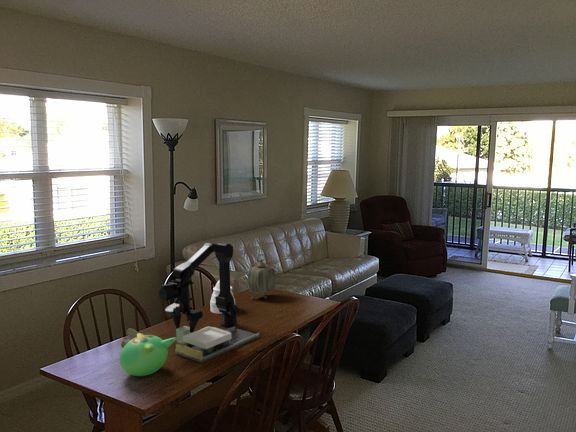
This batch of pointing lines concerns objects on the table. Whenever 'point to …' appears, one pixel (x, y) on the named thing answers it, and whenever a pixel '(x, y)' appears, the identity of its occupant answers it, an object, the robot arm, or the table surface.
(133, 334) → the grey angular piece
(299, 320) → the table surface
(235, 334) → the track
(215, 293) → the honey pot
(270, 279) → the tabletop clock
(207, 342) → the white square tray
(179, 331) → the green block
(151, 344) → the green rounded figure
